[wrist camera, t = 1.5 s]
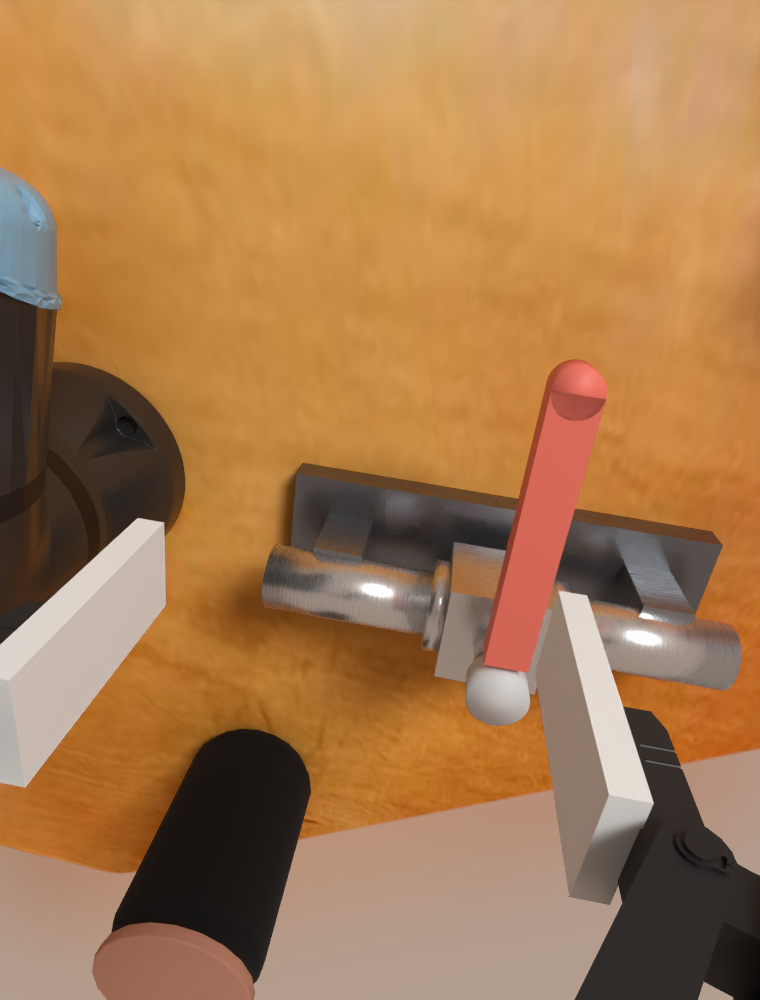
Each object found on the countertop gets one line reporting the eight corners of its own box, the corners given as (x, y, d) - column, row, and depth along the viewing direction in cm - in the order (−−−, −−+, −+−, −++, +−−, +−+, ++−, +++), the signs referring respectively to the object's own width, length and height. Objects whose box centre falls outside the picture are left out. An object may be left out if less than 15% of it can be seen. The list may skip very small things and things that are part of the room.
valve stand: (293, 584, 49) (240, 696, 37) (303, 463, 44) (247, 547, 33) (665, 651, 47) (727, 790, 36) (711, 531, 43) (800, 645, 31)
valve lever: (519, 706, 35) (522, 730, 33) (461, 695, 35) (460, 719, 33) (617, 365, 27) (626, 374, 25) (540, 353, 27) (545, 362, 25)
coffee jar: (175, 743, 57) (58, 954, 41) (272, 707, 54) (188, 920, 38) (240, 823, 60) (155, 1049, 44) (336, 794, 57) (283, 1025, 41)
